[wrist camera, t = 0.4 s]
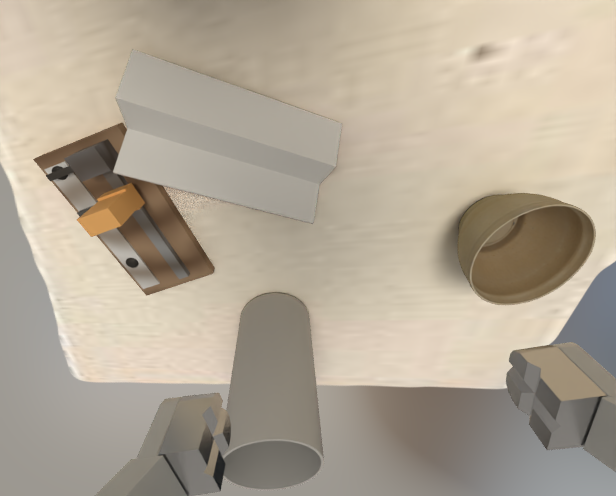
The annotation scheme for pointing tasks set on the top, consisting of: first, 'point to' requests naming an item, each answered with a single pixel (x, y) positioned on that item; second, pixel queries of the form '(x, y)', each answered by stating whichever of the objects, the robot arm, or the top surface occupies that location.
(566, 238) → the planter bowl
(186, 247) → the gauge board
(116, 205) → the sliding jaw
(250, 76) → the top surface
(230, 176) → the z bracket
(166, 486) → the robot arm
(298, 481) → the cylinder vase
